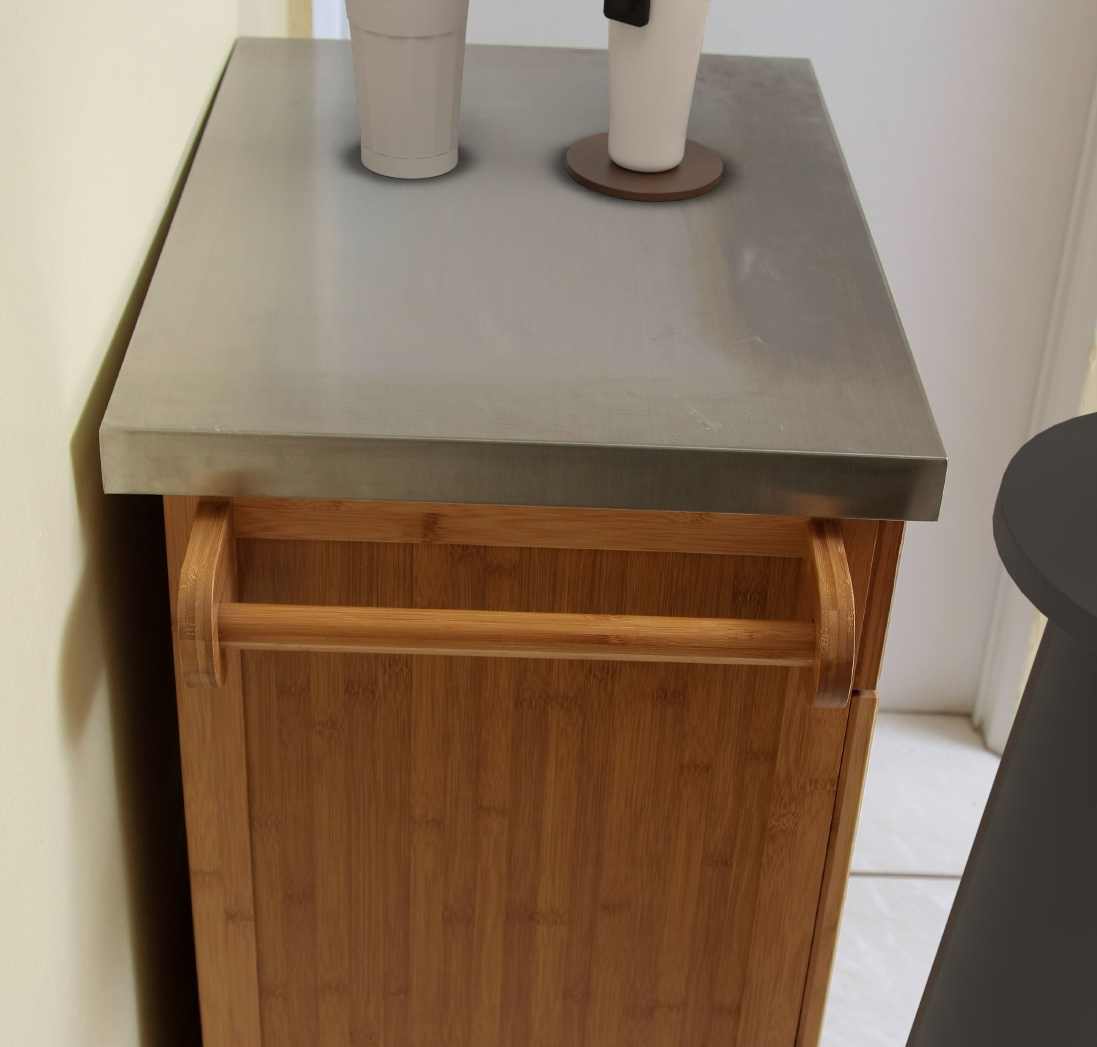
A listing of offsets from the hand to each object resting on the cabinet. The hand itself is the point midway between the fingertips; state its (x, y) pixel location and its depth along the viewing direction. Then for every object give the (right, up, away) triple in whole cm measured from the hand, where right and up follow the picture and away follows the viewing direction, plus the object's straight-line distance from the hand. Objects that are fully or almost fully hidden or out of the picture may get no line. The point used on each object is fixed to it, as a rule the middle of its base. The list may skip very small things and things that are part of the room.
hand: (658, 5), depth 101 cm
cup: (-17, -8, +7) cm, 20 cm away
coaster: (0, -8, +7) cm, 11 cm away
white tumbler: (0, -8, +7) cm, 10 cm away
